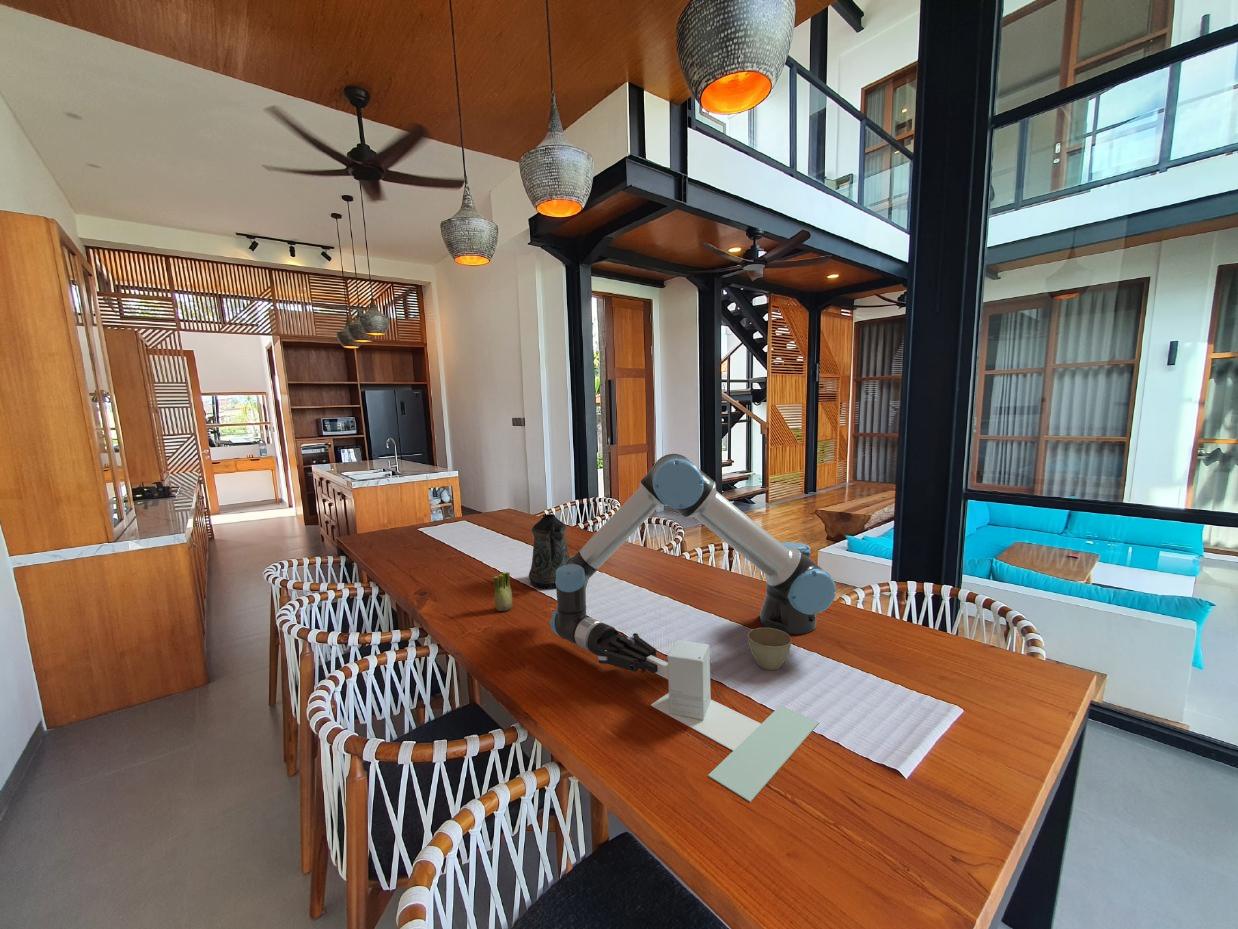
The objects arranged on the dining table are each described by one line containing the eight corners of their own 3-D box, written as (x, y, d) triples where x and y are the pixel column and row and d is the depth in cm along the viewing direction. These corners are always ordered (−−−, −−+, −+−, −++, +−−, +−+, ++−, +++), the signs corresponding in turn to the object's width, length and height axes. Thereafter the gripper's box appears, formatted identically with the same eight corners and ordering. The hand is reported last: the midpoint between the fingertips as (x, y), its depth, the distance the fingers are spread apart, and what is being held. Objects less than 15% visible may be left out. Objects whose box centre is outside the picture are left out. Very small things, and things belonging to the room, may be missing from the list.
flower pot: (794, 677, 110) (794, 648, 109) (749, 674, 112) (749, 645, 111) (788, 655, 120) (788, 628, 119) (746, 652, 122) (746, 625, 121)
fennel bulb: (496, 614, 150) (493, 577, 148) (493, 608, 154) (491, 572, 153) (514, 610, 152) (512, 574, 151) (511, 605, 156) (509, 569, 155)
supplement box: (711, 700, 102) (710, 643, 101) (703, 721, 95) (702, 661, 94) (678, 693, 105) (676, 638, 104) (668, 713, 98) (666, 655, 97)
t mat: (624, 724, 96) (624, 723, 96) (701, 670, 114) (701, 670, 114) (750, 802, 76) (750, 801, 76) (819, 723, 94) (819, 722, 94)
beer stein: (551, 571, 188) (548, 508, 185) (589, 580, 177) (586, 513, 174) (519, 584, 175) (515, 517, 172) (558, 595, 163) (555, 523, 160)
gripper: (616, 642, 124) (690, 676, 107) (577, 662, 115) (651, 703, 98) (615, 614, 123) (690, 644, 106) (576, 632, 114) (650, 668, 97)
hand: (671, 672), depth 102 cm, fingers closed
